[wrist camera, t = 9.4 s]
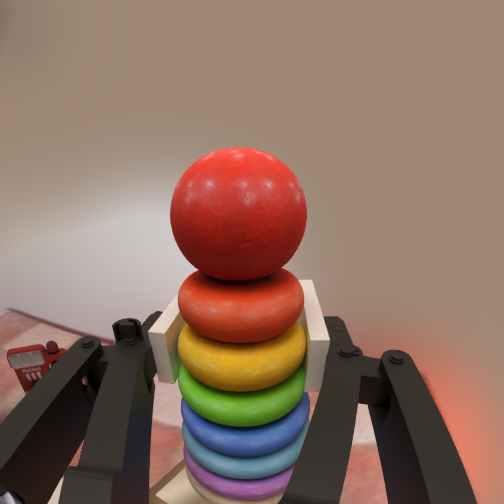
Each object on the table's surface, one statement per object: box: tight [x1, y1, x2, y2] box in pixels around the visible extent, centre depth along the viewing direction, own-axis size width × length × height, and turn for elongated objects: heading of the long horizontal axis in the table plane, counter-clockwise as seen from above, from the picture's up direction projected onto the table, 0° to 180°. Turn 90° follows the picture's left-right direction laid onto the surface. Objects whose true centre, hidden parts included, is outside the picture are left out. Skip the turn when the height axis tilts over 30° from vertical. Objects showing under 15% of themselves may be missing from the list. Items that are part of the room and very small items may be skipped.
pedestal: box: [149, 459, 210, 504], centre depth 20 cm, size 12×12×4 cm
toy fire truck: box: [7, 341, 86, 394], centre depth 32 cm, size 7×12×10 cm, turn 125°
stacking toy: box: [170, 147, 310, 504], centre depth 12 cm, size 8×8×19 cm
